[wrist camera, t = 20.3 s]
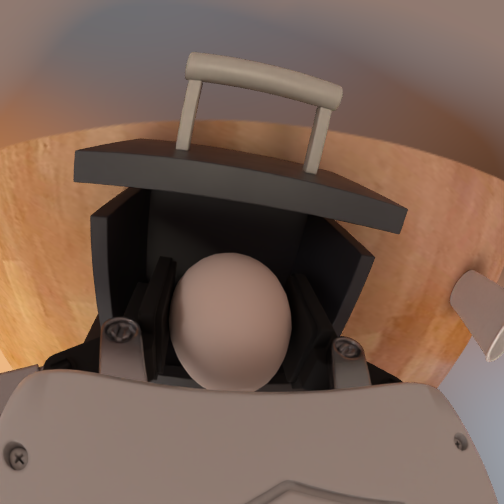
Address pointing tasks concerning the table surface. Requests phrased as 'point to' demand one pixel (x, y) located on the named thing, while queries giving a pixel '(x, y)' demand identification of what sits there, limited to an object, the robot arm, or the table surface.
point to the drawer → (231, 201)
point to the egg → (230, 322)
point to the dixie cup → (481, 311)
